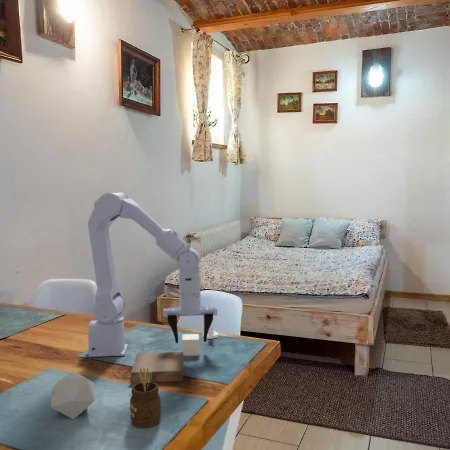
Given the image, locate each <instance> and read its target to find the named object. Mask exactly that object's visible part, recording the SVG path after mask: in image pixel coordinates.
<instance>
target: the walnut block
mask: <svg viewBox="0 0 450 450" xmlns="http://www.w3.org/2000/svg"><path fill="white" fill-rule="evenodd" d="M145 363H146V376H145V378H147V368H148V376H149V377H150V380H149V382H154V383H160V382H161V383H162V382H163V383H164V382H165V383H167V382H183V381H184V356H183V351H171V352H169V351H168V352H146V353H144V352H143V353H138V352H137V353H136V355H135V357H134V362H133V365H132V368H131V372H130V376H131V377H130V378H131V380H130V381H131V382H130V383H131V384H137V383H140V369H141V367H142V378H144V375H143V369H144V368H145ZM148 363H149V364H148ZM141 364H143V366H142V365H141ZM150 365H151V366H150ZM149 366H150V370H149ZM151 370H152V376H151Z"/></svg>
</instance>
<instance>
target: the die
mask: <svg viewBox="0 0 450 450" xmlns="http://www.w3.org/2000/svg"><path fill="white" fill-rule="evenodd" d="M50 401H51V406H50V408H52V409H53V410H55V411H57V412H58V413H61V414H62V415H65V416H66V417H67V418H70V419H71V420H74V421H75V419H76V418H77V417H78V416H80V414H82V413H83V412H84V411H85V410H86V409H88V408H89V407H90V406H91V405H92V404H93V403H94V402H95V383H94V382H93V381H92V380H90V379H88V378H87V377H85V376H83V375H81V374H79V373H78V372H76V371H74V370H72V371H70V372H69V373H67V374H66V375H64V377H62V378H61V379H59V380H58V381H57V382H56V384H55V385H54V386H53V387H52V388H51V400H50Z"/></svg>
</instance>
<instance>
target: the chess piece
mask: <svg viewBox="0 0 450 450" xmlns="http://www.w3.org/2000/svg"><path fill="white" fill-rule="evenodd" d="M208 307H212V304H211V303H208ZM214 319H215V318H214V316H213V320H214ZM219 335H220V334H219V332H217V331H215V330H214V326H213V322H212V323H211V326H210V328H209V331H208V334H207V340H208V339H209V340H210V339H212V340H213V339H217V338H219ZM202 338H203V339H204V332H203V333H202Z"/></svg>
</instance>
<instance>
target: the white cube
mask: <svg viewBox="0 0 450 450" xmlns="http://www.w3.org/2000/svg"><path fill="white" fill-rule="evenodd" d="M181 340H182V346H181V348H182V352H183V357H188V356H193V357H194V356H200V334H199V333H193V334H192V333H191V334H190V333H189V334H186V333H185V334H182V339H181Z"/></svg>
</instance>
